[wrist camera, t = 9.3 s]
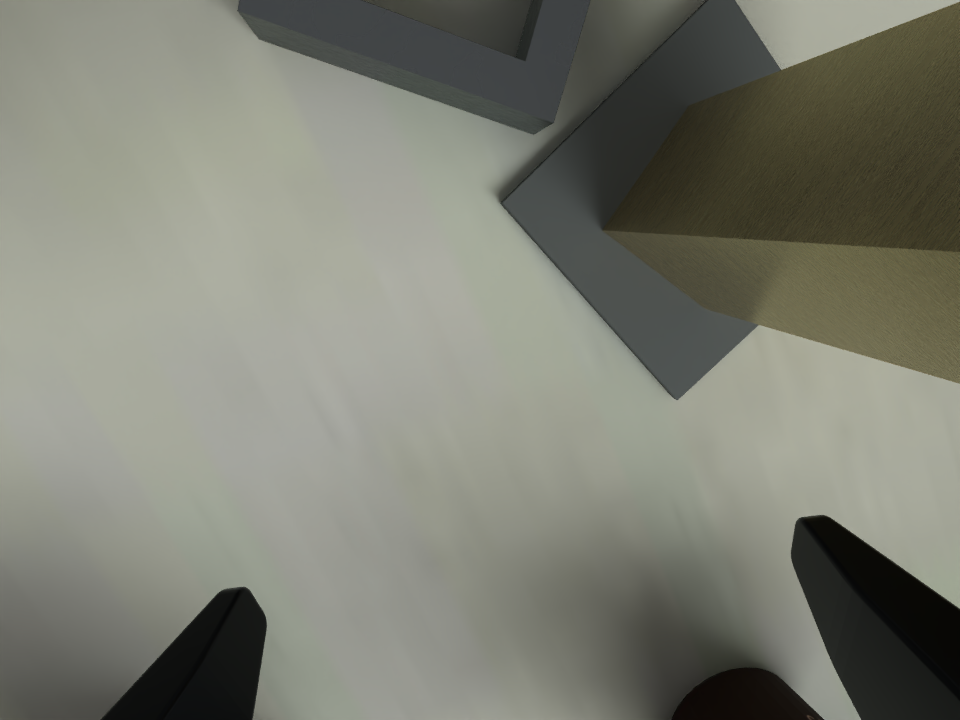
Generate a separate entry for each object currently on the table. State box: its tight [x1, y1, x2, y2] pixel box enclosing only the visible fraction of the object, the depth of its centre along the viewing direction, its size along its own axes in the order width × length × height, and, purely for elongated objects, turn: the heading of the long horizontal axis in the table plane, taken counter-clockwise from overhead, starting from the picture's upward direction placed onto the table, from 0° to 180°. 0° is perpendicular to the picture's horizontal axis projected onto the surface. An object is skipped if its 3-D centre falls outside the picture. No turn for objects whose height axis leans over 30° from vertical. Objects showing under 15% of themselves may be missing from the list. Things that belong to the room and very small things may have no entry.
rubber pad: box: [500, 0, 781, 400], centre depth 21 cm, size 10×10×1 cm
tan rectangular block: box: [602, 2, 960, 384], centre depth 13 cm, size 5×5×15 cm
